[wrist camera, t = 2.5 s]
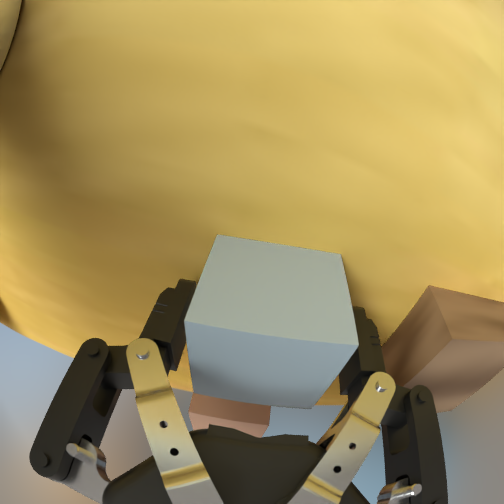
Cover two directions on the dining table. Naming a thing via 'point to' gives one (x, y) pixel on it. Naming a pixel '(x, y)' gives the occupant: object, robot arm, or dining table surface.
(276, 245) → the slate block
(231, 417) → the terracotta block
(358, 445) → the robot arm
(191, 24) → the dining table surface
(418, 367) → the walnut base block
